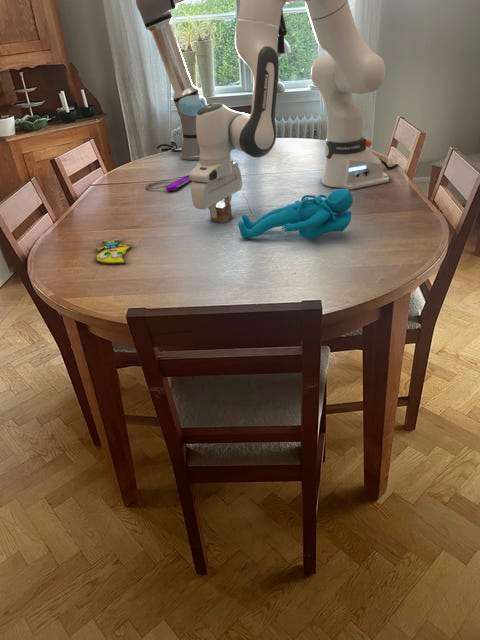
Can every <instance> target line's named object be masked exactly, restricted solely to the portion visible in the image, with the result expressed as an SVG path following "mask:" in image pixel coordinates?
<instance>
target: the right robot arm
mask: <svg viewBox="0 0 480 640" xmlns="http://www.w3.org/2000/svg"><path fill="white" fill-rule="evenodd" d="M298 2H304V3H305V7H306V11H307V14H308V18H309V21H310V24H311V27H312V31H313V33H314V36H315V40H316V43H317V45H318V46H319V47H320V48H321V49H322V50H323V51H325V52H326V53H324V54H321V55H319V56H318V57H316V58H315V59H314V61H313V62H312V66H311V70H310V78H311V81H312V84H313V85H314V87H316V88H317V90H318V91H319V93H320V95H321V98H322V101H323V103H324V107H325V112H326V131H327V132H326V139H325V145H324V154H325V155H324V156H325V164H324V168H323V169H324V170H323V175H322V178H321V183H322V185H324V186H327V187H330V188H337V189H348V190H356V189H361V188H366V187H371V186H376V185H380V184H385V183H389V182H390V176H389V175H388V174H387V173H386V172H385V171H384V168H383V165H384V167H385V168H386V169H387V170H393V169H395V168H397V167H399V164H398V163H396V164H394V165H391V166H390V165H388V164H387V162H386V161H384V160H382V158H380V157H377V156H376V155H375V154H373V152H371V151H370V150H368V148H370V147H371V146H373V141H372V140H371V139H368V138H367V139H366V138H364V137H363V136H362V134H363V117H364V115H363V111H362V109H361V108H360V107H359V106H358V105H357V103H356V102H355V100H354V97H353V94H356V95H357V94H358V95H363V94H369V93H373V92H376V91H378V90H379V88H380V87H381V86H382V84H383V82H384V80H385V77H386V64H385V61H384V60H383V58H382V57H381V56H380V55H379V54H377V53H376V52H374V51H373V50H372V49H371V47H369V45H368V44H367V43H366V42H365V40H364V39H363V37H362V36H361V34H360V32H359V31H358V27H357V26H356V23H355V21H354V17H353V13H352V10H351V5H350V3H349V0H240V2H239V8H238V12H237V18H236V26H235V32H234V45H235V51H236V52H237V54H238V56H239V58H240V59H241V60H242V61H243V62H244V63H245V64H246V65H247V66H248V68H249V70H250V71H251V75H252V78H253V79H252V80H253V86H252V87H253V88H252V99H251V111H250V114H249V113H245V112H242V111H241V112H240V111H238V110H234V109H231V108H229V107H227V106H226V105H224V104H223V103H221V102H214V103H209V104H207V105H206V106H204V107H202V108H201V109H200V110H198V112H197V115H196V134H197V142H198V145H199V148H200V154H199V159H200V160H199V162H197V164H196V165H195V166H194V168H193V169H192V170H191V171H190V172H189V174H188V175H189V178H190V180H189V181H192V182H191V185H190V193H191V202H192V205H193V207H194V208H195V209H196V210H206V209H208V210H209V213H210V212H211V216H212V218H217V217H218V216H219V211H217V210H216V209H215V207H216V203H217V202H222V201H223V202H224V203H230V204H231V202H232V198H233V197H232V195H234V194H235V193H237V192H239V191H241V190H242V188H243V179H242V174H241V173H242V171H241V169H240V167H239V163H238V161H237V160H236V159H234V158H232V156H231V155H232V154H231V152H232V150H237V151H240V152H243V153H245V155H246V154H247V155H248V156H250V157H252V158H256V159H257V158H262V157H264V156H267V155H268V154H269V153H270V152H271V151H272V149H273V148H274V145H275V143H276V140H277V126H276V105H277V93H278V86H279V85H278V82H279V70H280V69H279V68H280V65H279V55H278V36H279V34H278V31H279V25H280V18H281V11H282V9H283V10H284V7H285V5H286V4H295V3H298ZM211 216H210V217H211Z"/></svg>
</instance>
